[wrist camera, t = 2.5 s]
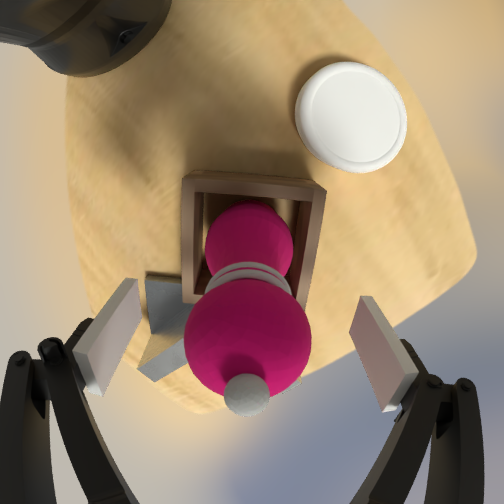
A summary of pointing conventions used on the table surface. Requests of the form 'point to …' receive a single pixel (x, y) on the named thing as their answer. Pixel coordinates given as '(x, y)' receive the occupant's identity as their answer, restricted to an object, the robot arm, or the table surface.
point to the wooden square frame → (249, 185)
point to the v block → (168, 328)
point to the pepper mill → (248, 311)
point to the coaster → (351, 117)
